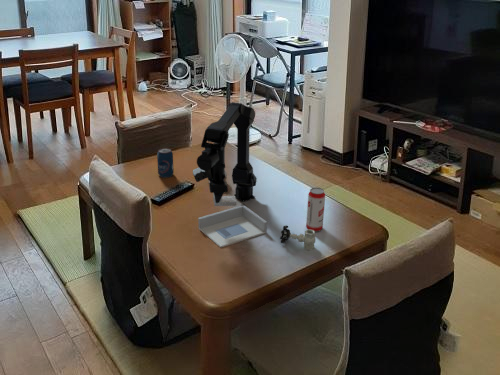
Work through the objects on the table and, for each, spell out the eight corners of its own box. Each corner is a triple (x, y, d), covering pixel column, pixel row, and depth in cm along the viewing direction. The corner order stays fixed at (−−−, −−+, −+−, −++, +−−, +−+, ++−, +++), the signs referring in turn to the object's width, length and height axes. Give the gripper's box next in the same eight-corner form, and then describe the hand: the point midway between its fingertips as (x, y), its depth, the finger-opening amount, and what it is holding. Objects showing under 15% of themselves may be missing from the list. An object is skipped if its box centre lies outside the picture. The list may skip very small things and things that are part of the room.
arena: (243, 215, 226) (243, 204, 224) (266, 232, 214) (267, 221, 212) (198, 228, 216) (198, 217, 214) (220, 247, 204) (220, 236, 202)
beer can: (324, 226, 219) (327, 188, 212) (320, 234, 214) (323, 195, 207) (308, 223, 221) (310, 185, 214) (304, 231, 215) (306, 192, 208)
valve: (317, 244, 207) (285, 237, 211) (318, 228, 204) (286, 221, 208) (311, 253, 201) (279, 246, 206) (312, 237, 199) (280, 230, 203)
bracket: (214, 206, 210) (214, 191, 207) (213, 200, 215) (213, 185, 212) (236, 205, 211) (236, 190, 208) (234, 199, 216) (234, 184, 213)
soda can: (156, 177, 256) (154, 152, 251) (160, 171, 262) (159, 146, 257) (171, 178, 255) (170, 153, 250) (175, 172, 261) (174, 147, 256)
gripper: (192, 151, 212) (193, 189, 219) (195, 171, 196) (196, 212, 202) (222, 150, 214) (222, 188, 220) (227, 170, 197) (227, 210, 204)
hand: (216, 199), depth 212 cm, fingers closed on bracket, 5 cm apart
